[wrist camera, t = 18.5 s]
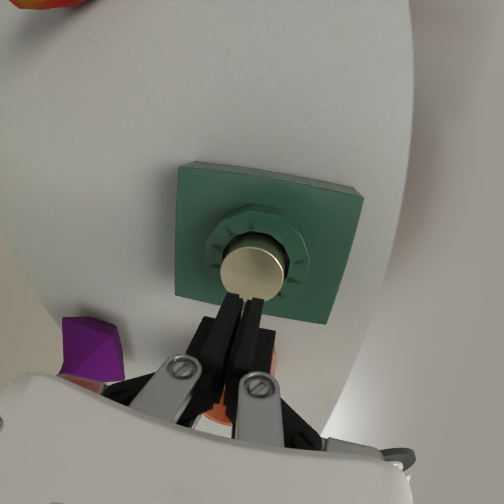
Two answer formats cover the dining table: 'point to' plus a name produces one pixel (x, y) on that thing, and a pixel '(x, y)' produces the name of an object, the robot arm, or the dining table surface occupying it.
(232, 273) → the metal button cap
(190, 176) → the push button base
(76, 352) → the perfume bottle
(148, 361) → the dining table surface
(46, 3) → the apple
